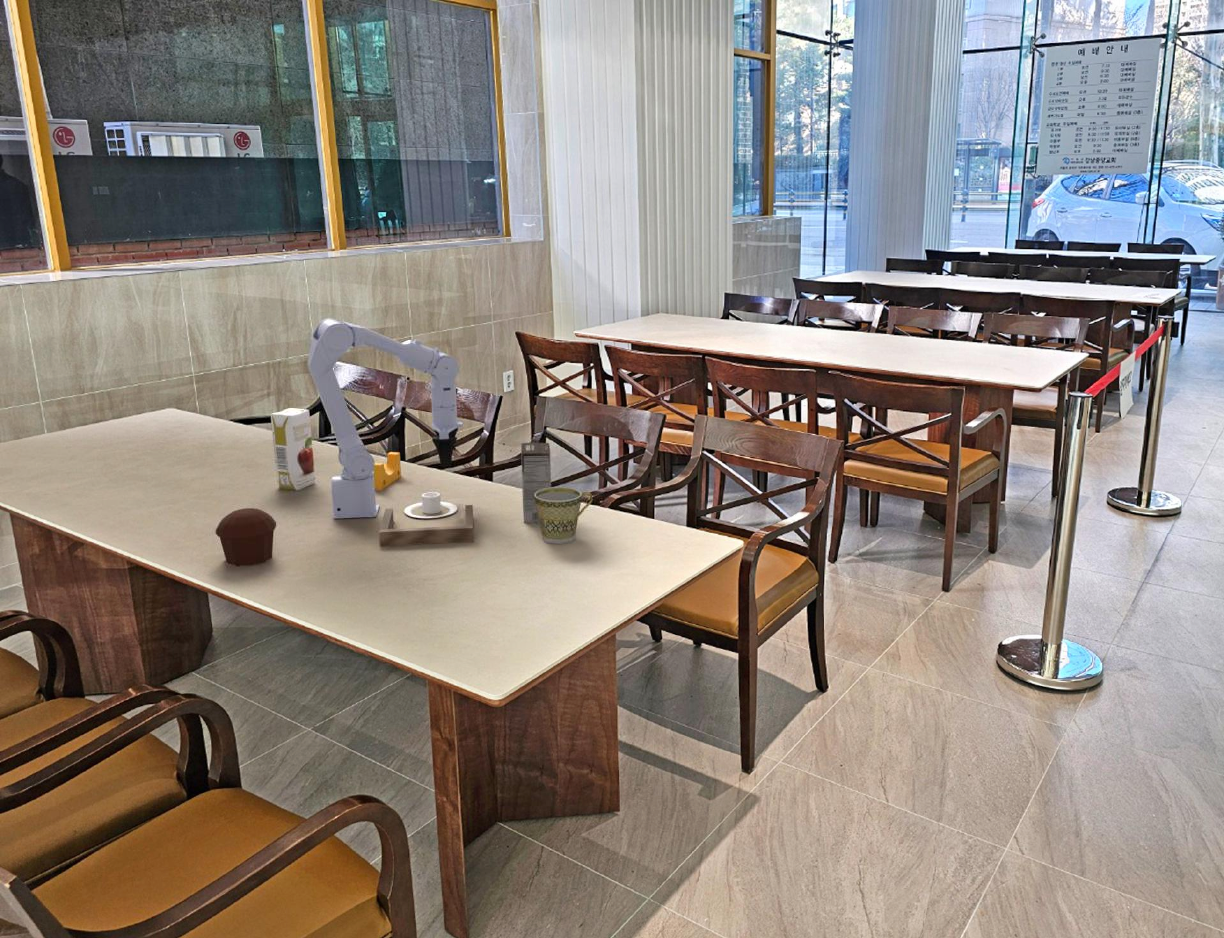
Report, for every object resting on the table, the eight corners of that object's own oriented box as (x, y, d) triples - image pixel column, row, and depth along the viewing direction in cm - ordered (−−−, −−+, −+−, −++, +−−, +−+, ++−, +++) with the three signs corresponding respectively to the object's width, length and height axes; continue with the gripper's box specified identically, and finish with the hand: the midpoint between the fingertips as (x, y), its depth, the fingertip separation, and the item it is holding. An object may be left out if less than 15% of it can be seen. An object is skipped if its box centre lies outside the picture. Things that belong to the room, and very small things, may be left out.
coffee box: (523, 510, 227) (521, 442, 222) (550, 509, 227) (549, 441, 223) (522, 523, 218) (520, 452, 213) (552, 522, 218) (550, 452, 214)
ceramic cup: (546, 550, 202) (545, 503, 199) (527, 535, 210) (526, 490, 207) (603, 539, 207) (602, 494, 205) (582, 525, 216) (582, 482, 213)
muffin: (243, 573, 190) (237, 524, 187) (206, 562, 196) (200, 514, 193) (291, 554, 200) (287, 507, 197) (255, 544, 205) (250, 498, 202)
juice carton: (273, 488, 243) (265, 413, 238) (296, 479, 251) (289, 406, 245) (297, 492, 240) (290, 416, 235) (320, 482, 248) (313, 409, 243)
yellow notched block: (385, 475, 254) (383, 451, 252) (401, 476, 253) (399, 452, 252) (365, 489, 243) (364, 464, 241) (382, 490, 242) (380, 465, 240)
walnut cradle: (380, 545, 204) (379, 532, 203) (386, 521, 219) (385, 508, 218) (473, 541, 207) (472, 527, 206) (473, 517, 221) (472, 504, 221)
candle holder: (410, 523, 218) (409, 505, 217) (399, 508, 229) (398, 490, 228) (463, 517, 223) (462, 498, 222) (449, 502, 234) (449, 484, 232)
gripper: (460, 411, 221) (463, 469, 225) (462, 398, 235) (464, 453, 238) (428, 412, 220) (431, 470, 224) (432, 399, 234) (435, 454, 238)
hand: (446, 461), depth 231 cm, fingers open, 7 cm apart
